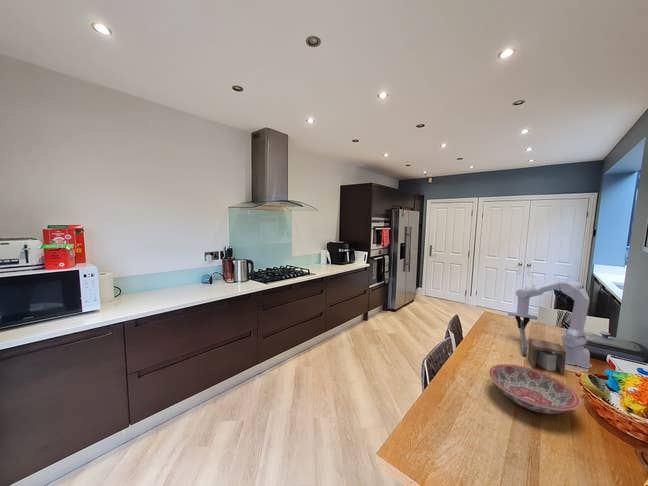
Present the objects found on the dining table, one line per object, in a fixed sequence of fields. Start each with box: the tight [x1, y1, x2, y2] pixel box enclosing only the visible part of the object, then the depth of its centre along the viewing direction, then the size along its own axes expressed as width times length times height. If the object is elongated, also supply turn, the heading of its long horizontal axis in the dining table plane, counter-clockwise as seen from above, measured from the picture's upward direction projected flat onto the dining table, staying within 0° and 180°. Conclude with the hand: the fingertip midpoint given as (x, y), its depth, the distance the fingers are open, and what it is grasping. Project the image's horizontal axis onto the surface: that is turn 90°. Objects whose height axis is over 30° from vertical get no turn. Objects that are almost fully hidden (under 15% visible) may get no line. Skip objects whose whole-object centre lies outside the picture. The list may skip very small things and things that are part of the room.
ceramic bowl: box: [488, 363, 581, 415], centre depth 105 cm, size 29×29×8 cm
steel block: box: [518, 319, 528, 357], centre depth 152 cm, size 2×27×6 cm, turn 146°
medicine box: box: [536, 349, 557, 372], centre depth 131 cm, size 8×4×9 cm, turn 179°
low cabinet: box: [527, 338, 566, 376], centre depth 131 cm, size 12×10×12 cm
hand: (521, 328), depth 160 cm, fingers closed on steel block, 2 cm apart
